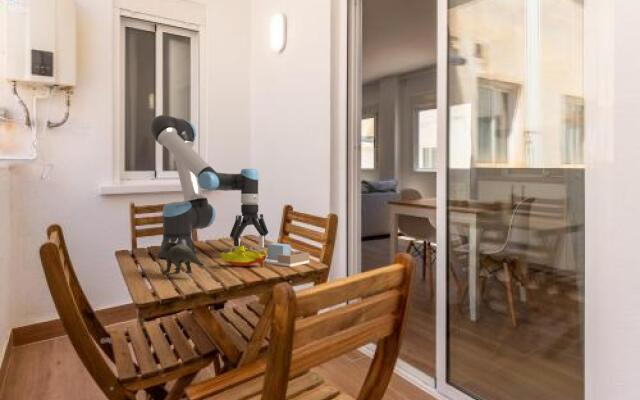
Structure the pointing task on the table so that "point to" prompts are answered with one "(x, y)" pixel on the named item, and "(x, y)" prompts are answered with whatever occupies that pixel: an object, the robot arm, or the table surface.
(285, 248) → the block
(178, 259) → the dinosaur figurine
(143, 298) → the table surface
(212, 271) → the table surface
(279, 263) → the jig
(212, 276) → the table surface
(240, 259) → the toy boat
